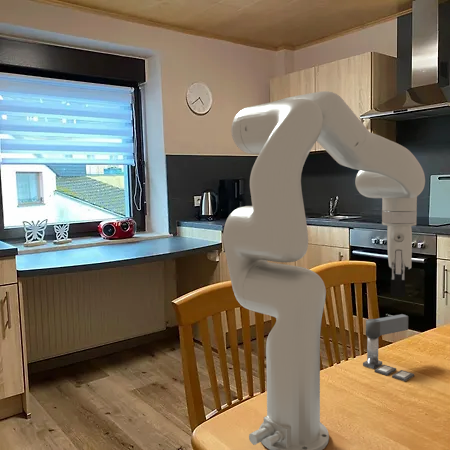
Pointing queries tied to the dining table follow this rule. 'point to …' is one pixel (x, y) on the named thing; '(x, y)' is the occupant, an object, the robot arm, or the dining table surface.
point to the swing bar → (386, 325)
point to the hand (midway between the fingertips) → (397, 295)
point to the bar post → (372, 353)
